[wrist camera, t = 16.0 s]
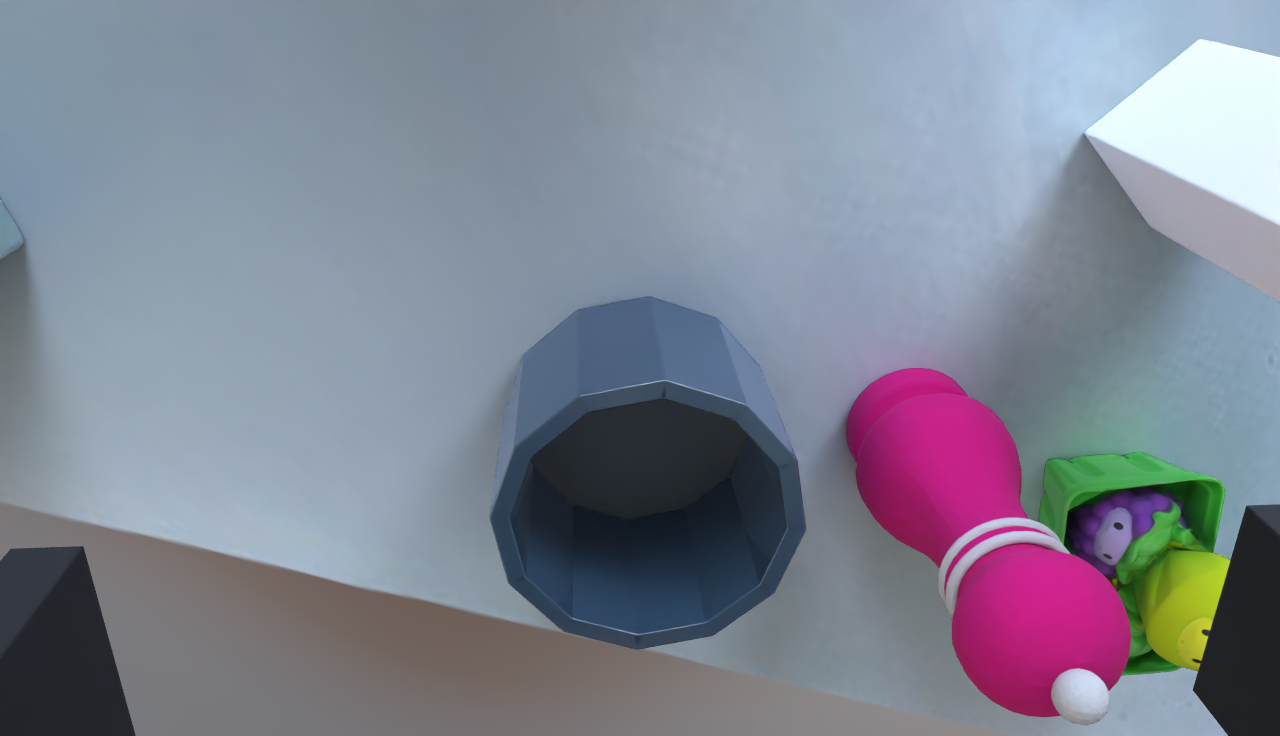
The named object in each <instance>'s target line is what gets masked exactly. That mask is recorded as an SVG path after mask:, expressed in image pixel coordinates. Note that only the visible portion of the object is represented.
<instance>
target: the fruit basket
mask: <svg viewBox="0 0 1280 736" xmlns="http://www.w3.org/2000/svg"><path fill="white" fill-rule="evenodd" d="M1043 485H1044V489H1045V494H1044V496H1043V499H1042V500H1041V505H1040V513H1039V520H1038V522H1039V523H1041V524H1043V525H1045V526H1046V527H1048V528H1049V529H1050V530H1052V531H1053V532H1054V533H1055V534H1056V535H1057V536H1058V538H1059V539H1060V541H1061V542H1062V544H1063V545H1064V547H1065V548H1066V549H1067V550H1068V551H1069V552H1070V554H1071V555H1075V556H1077V557H1079V558H1081V559H1083V560H1084V561H1086V562H1088V563H1089V564H1091V565H1092V566H1093V567H1095V568H1096V569H1097V570H1099V571H1100V572H1101V573H1102V574H1103V575H1104V576H1105V577H1106V578H1107V579H1108V580H1109V581H1110V583H1111V584H1112V586H1113V587H1114V589H1115V590H1116V592H1117V593H1118V595H1119V596H1120V598H1121V600H1122V602H1123V605H1124V607H1125V609H1126V612H1127V615H1128V618H1129V622H1130V630H1131V645H1130V654H1129V657H1128V661H1127V664H1126V667H1125V669H1124V671H1123V673H1122V675H1121V676H1123V675H1136V674H1150V673H1160V672H1170V671H1175V670H1177V669H1179V668H1181V667H1183V668H1187V669H1191V670H1195V671H1198V670H1199V667H1200V664H1201V660H1202V657H1203V653H1204V650H1205V646H1206V643H1207V640H1208V636H1209V633H1210V629H1211V626H1212V622H1213V619H1214V616H1215V612H1216V609H1217V605H1218V602H1219V598H1220V595H1221V591H1222V588H1223V585H1224V581H1225V578H1226V574H1227V571H1228V567H1229V564H1230V561H1231V560H1229V559H1228V558H1225V557H1223V556H1221V555H1219V554H1216V553H1213V551H1214V546H1215V541H1216V536H1217V531H1218V527H1219V522H1220V517H1221V512H1222V507H1223V503H1224V496H1225V488H1224V485H1223V483H1222V482H1220V481H1219V480H1217V479H1215V478H1212V477H1209V476H1206V475H1203V474H1200V473H1192V472H1189V471H1187V470H1184V469H1182V468H1180V467H1177V466H1175V465H1172V464H1170V463H1168V462H1165V461H1163V460H1160V459H1158V458H1156V457H1153V456H1150V455H1148V454H1146V453H1143V452H1133V453H1130V454H1127V455H1125V456H1124V457H1123V456H1121V455H1116V454H1105V455H1093V456H1080V457H1076V458H1073V459H1070V460H1069V461H1067V460H1063V459H1059V458H1055V459H1049V460H1048V461H1047V462H1046V466H1045V473H1044V482H1043Z"/></svg>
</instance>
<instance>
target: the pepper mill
mask: <svg viewBox="0 0 1280 736" xmlns="http://www.w3.org/2000/svg"><path fill="white" fill-rule="evenodd" d="M846 436H847V444H848V446H849V449H850V452H851V454H852V456H853V458H854V460H855V462H856V464H857V465H856V479H857V485H858V490H859V492H860V495H861V497H862V500H863V501H864V503H865V504H866V506H867V508H868V509H869V511H870V512H871V514H872V515H873V517H874V518H875V520H876V521H877V522H878V523H879V524H880V525H881V526H882V527H883V528H884V529H885V530H886V531H887V532H889V533H890V534H891V535H892V536H893V537H895V538H896V539H897V540H899V541H900V542H902V543H904V544H906V545H908V546H910V547H912V548H914V549H916V550H918V551H920V552H922V553H923V554H925V555H927V556H928V557H929V558H930V559H931V560H932V561H933V562H935V563H936V565H937V566H938V568H939V574H938V588H939V593H940V596H941V598H942V600H943V602H944V604H945V605H946V606H947V609H948V611H949V614H950V615H951V617H952V642H953V646H954V649H955V652H956V655H957V657H958V659H959V661H960V663H961V665H962V667H963V669H964V671H965V672H966V674H967V676H968V677H969V679H970V680H971V681H972V682H973V683H974V684H975V686H976V687H977V688H978V689H979V690H980V691H981V692H982V693H983V694H984V695H986V696H987V697H988V698H989V699H990V700H992V701H993V702H995V703H997V704H998V705H1000V706H1002V707H1004V708H1006V709H1008V710H1010V711H1012V712H1015V713H1019V714H1023V715H1027V716H1036V717H1054V716H1062V717H1064V718H1065V719H1066V720H1068V721H1070V722H1072V723H1075V724H1080V725H1089V724H1093V723H1095V722H1098V721H1099V720H1101V719H1102V718H1103V717H1104V716H1105V714H1106V713H1107V711H1108V708H1109V704H1110V695H1109V692H1108V691H1109V690H1110V689H1111V688H1112V687H1113V686H1114V685H1115V684H1116V683H1117V682H1118V680H1119V679H1120V677H1121V675H1122V673H1123V671H1124V669H1125V667H1126V664H1127V661H1128V657H1129V654H1130V645H1131V630H1130V622H1129V618H1128V615H1127V612H1126V609H1125V607H1124V605H1123V602H1122V600H1121V598H1120V596H1119V595H1118V593H1117V592H1116V590H1115V589H1114V587H1113V586H1112V584H1111V583H1110V581H1109V580H1108V579H1107V578H1106V577H1105V576H1104V575H1103V574H1102V573H1101V572H1100V571H1099V570H1097V569H1096V568H1095V567H1093V566H1092V565H1091V564H1089V563H1088V562H1086V561H1084V560H1083V559H1081V558H1079V557H1077V556H1075V555H1071V554H1070V552H1069V551H1068V550H1067V549H1066V548H1065V547H1064V545H1063V544H1062V542H1061V541H1060V539H1059V538H1058V536H1057V535H1056V534H1055V533H1054V532H1053V531H1052V530H1050V529H1049V528H1048V527H1046V526H1045V525H1043V524H1041V523H1039V522H1036V521H1034V520H1030V519H1029V518H1028V517H1027V515H1026V513H1025V512H1024V510H1023V508H1022V506H1021V503H1020V493H1021V466H1020V461H1019V456H1018V452H1017V448H1016V445H1015V443H1014V441H1013V439H1012V437H1011V435H1010V433H1009V432H1008V430H1007V429H1006V427H1005V425H1004V424H1003V422H1002V421H1001V420H1000V418H999V417H998V416H997V415H996V414H995V413H994V412H993V411H992V410H991V409H989V408H988V407H987V406H985V405H983V404H982V403H980V402H978V401H977V400H974V399H972V398H969V397H968V396H967V394H966V393H965V392H964V391H963V389H962V388H961V387H960V386H959V385H958V384H957V383H956V382H955V381H954V380H953V379H952V378H950V377H948V376H947V375H945V374H943V373H940V372H938V371H935V370H931V369H924V368H910V369H903V370H899V371H895V372H893V373H890V374H887V375H885V376H883V377H881V378H880V379H878V380H877V381H875V382H873V383H872V384H871V385H870V386H868V387H867V388H866V389H865V390H864V391H863V392H862V393H861V394H860V396H859V397H858V398H857V400H856V401H855V403H854V405H853V407H852V408H851V411H850V413H849V417H848V420H847V428H846Z"/></svg>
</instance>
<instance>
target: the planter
mask: <svg viewBox="0 0 1280 736" xmlns="http://www.w3.org/2000/svg"><path fill="white" fill-rule="evenodd" d="M23 242H24V238H23V236H22V234H21V232H20V231H19V229H18V227H17V225H16V224H15V222H14V220H13V219H12V217H11V215H10V214H9V212H8V210H7V208H6V207H5V205H4V203H3V202H2V200H1V198H0V259H2V258H4V257H5V256H7V255H9V254H10V253H12V252H13V251H15V250H17V249H18V248H20V247H21V246H22V245H23Z"/></svg>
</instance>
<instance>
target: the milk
mask: <svg viewBox="0 0 1280 736" xmlns="http://www.w3.org/2000/svg"><path fill="white" fill-rule="evenodd" d="M1085 135H1086V137H1087V138H1088V140H1089V141H1090V142H1091V144H1092V145H1093V147H1094V148H1095V150H1096V151H1097V152H1098V154H1099V155H1100V157H1101V158H1102V159H1103V161H1104V162H1105V164H1106V165H1107V167H1108V168H1109V169H1110V171H1111V172H1112V174H1113V175H1114V176H1115V178H1116V179H1117V181H1118V182H1119V184H1120V185H1121V186H1122V188H1123V189H1124V191H1125V192H1126V193H1127V195H1128V196H1129V198H1130V199H1131V201H1132V202H1133V203H1134V205H1135V206H1136V208H1137V209H1138V211H1139V212H1140V213H1141V215H1142V216H1143V218H1144V219H1145V220H1146V222H1147V223H1148V225H1149V226H1150V227H1152V228H1153V229H1155V230H1157V231H1158V232H1160V233H1162V234H1164V235H1165V236H1167V237H1169V238H1170V239H1172V240H1174V241H1176V242H1177V243H1179V244H1181V245H1182V246H1184V247H1186V248H1188V249H1189V250H1191V251H1193V252H1194V253H1196V254H1198V255H1199V256H1201V257H1203V258H1205V259H1206V260H1208V261H1210V262H1211V263H1213V264H1215V265H1217V266H1218V267H1220V268H1222V269H1223V270H1225V271H1227V272H1229V273H1230V274H1232V275H1234V276H1235V277H1237V278H1239V279H1241V280H1242V281H1244V282H1246V283H1247V284H1249V285H1251V286H1253V287H1254V288H1256V289H1258V290H1259V291H1261V292H1263V293H1265V294H1266V295H1268V296H1270V297H1271V298H1273V299H1275V300H1276V301H1278V302H1280V58H1279V57H1275V56H1271V55H1267V54H1262V53H1258V52H1254V51H1250V50H1246V49H1241V48H1237V47H1233V46H1229V45H1225V44H1220V43H1216V42H1212V41H1208V40H1203V39H1200V40H1198V41H1196V42H1195V43H1194V44H1193V45H1191V46H1190V47H1189V48H1188V49H1187V50H1185V51H1184V52H1183V53H1182V54H1180V55H1179V56H1178V57H1177V58H1175V59H1174V60H1173V61H1172V62H1170V63H1169V64H1168V65H1167V66H1165V67H1164V68H1163V69H1162V70H1160V71H1159V72H1158V73H1157V74H1156V75H1154V76H1153V77H1152V78H1151V79H1149V80H1148V81H1147V82H1146V83H1144V84H1143V85H1142V86H1141V87H1139V88H1138V89H1137V90H1136V91H1134V92H1133V93H1132V94H1131V95H1130V96H1128V97H1127V98H1126V99H1125V100H1123V101H1122V102H1121V103H1120V104H1118V105H1117V106H1116V107H1115V108H1113V109H1112V110H1111V111H1110V112H1108V113H1107V114H1106V115H1105V116H1103V117H1102V118H1101V119H1100V120H1099V121H1097V122H1096V123H1095V124H1094V125H1092V126H1091V127H1090V128H1089V129H1087V130H1086V131H1085Z"/></svg>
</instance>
